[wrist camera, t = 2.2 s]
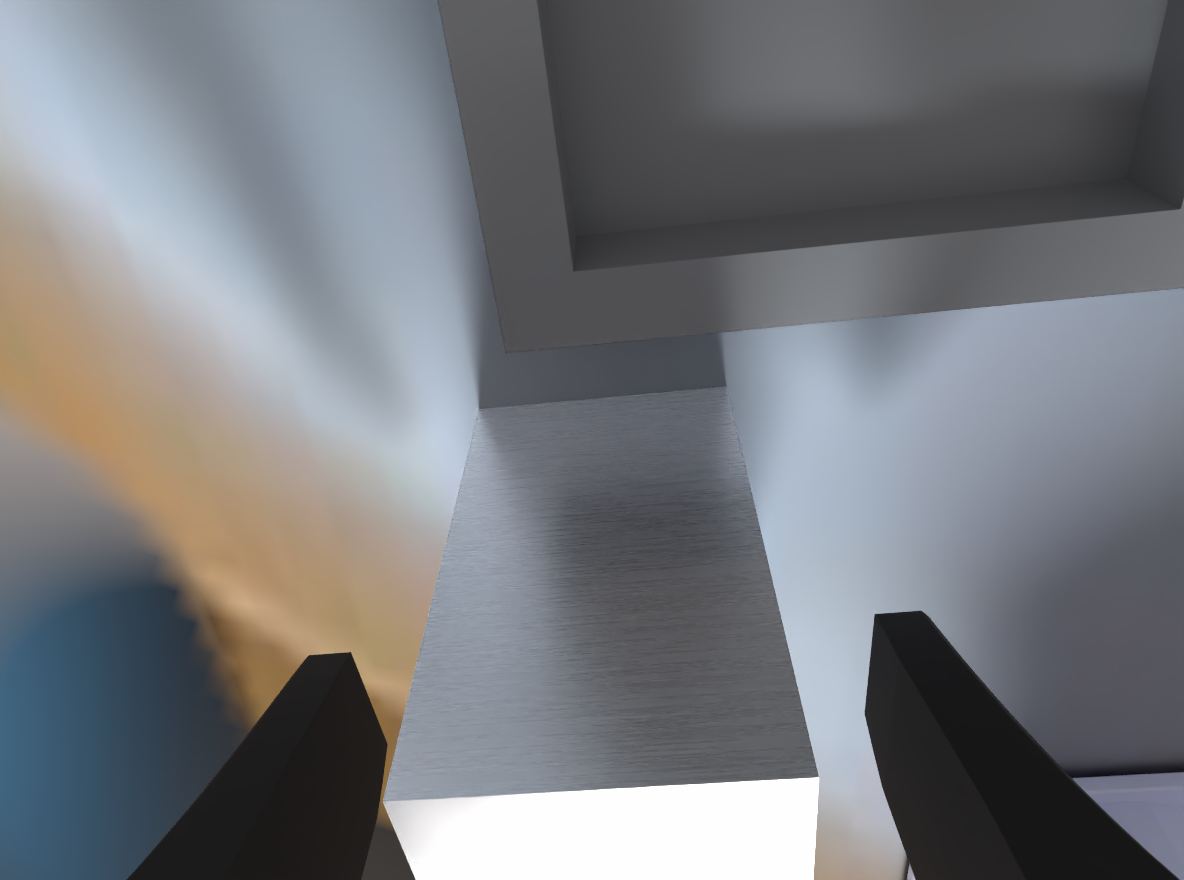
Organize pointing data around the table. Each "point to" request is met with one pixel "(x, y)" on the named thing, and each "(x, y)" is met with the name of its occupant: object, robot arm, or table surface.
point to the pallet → (815, 158)
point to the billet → (605, 660)
